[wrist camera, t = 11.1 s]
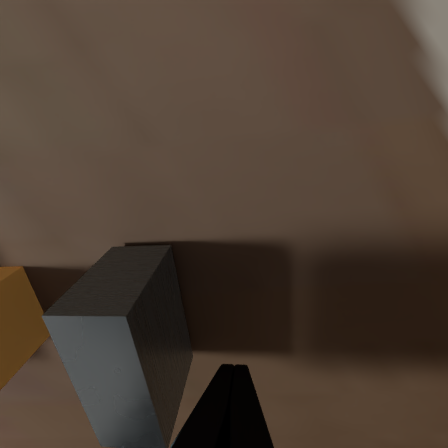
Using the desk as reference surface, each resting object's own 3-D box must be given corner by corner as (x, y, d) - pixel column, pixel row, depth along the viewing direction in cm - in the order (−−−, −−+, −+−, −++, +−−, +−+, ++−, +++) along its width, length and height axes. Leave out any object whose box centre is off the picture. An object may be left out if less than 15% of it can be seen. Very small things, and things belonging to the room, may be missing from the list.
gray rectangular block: (192, 355, 13) (167, 451, 10) (143, 354, 14) (101, 446, 10) (170, 244, 11) (125, 316, 7) (112, 246, 11) (41, 315, 8)
